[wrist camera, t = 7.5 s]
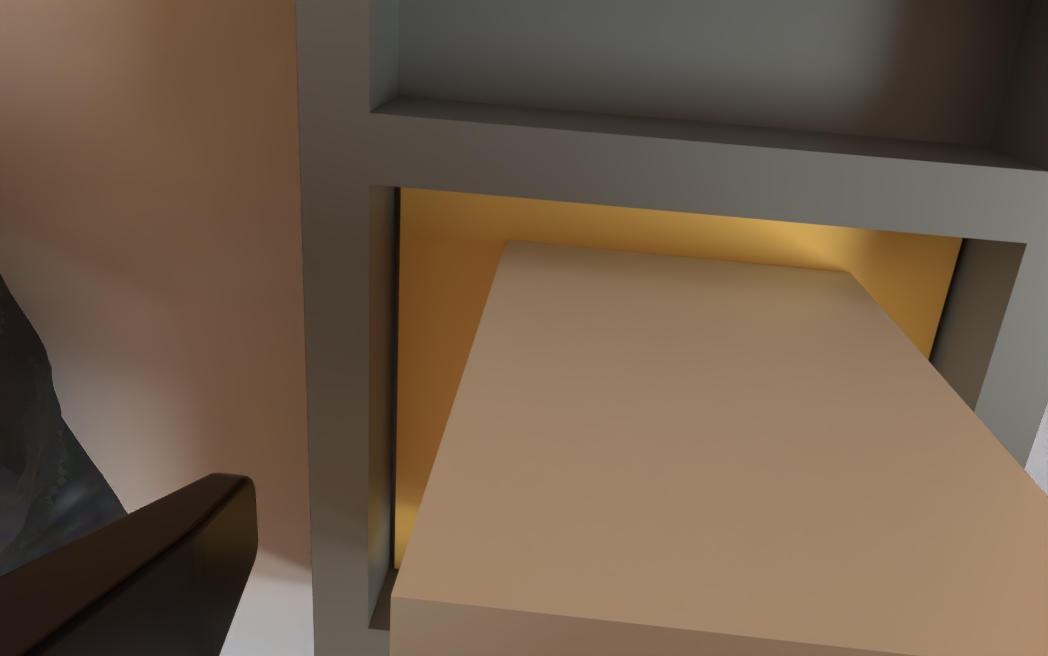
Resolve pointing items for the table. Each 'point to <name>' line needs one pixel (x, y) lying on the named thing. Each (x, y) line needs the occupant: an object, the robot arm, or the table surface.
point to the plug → (712, 477)
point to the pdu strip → (644, 202)
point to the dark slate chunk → (40, 454)
